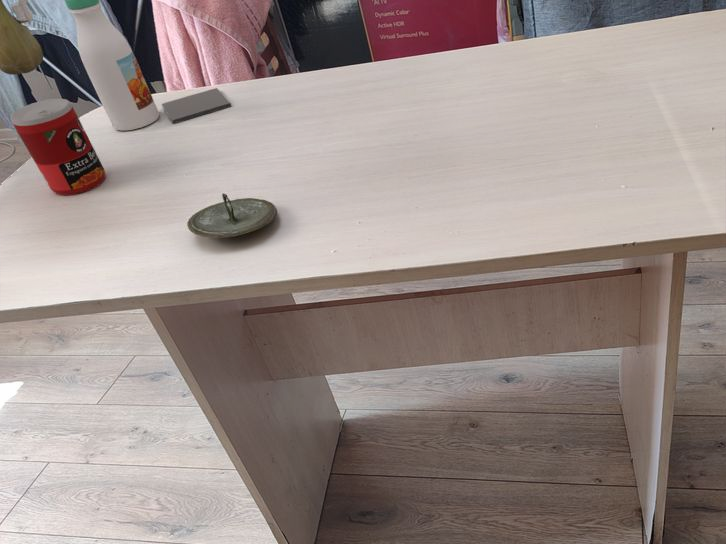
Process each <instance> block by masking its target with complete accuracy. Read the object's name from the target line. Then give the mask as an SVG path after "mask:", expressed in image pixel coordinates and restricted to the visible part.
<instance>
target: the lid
mask: <svg viewBox="0 0 726 544" xmlns="http://www.w3.org/2000/svg"><path fill="white" fill-rule="evenodd" d="M221 196H222V200H223V201H221V202H218V203H215V204H212V205H208V206H206V207H204V208H202V209H200V210H198V211H197V212H195V213H193V214H192V215H191V216H190V217H189V218H188V221H187V222H186V224H187V225H186V226H187V229H188V230H189V231H190V232H191V233H192V234H194V235H196V236H197V237H198V236H199V237H201V238H207V239H208V238H209V239H221V238H222V239H223V238H230V237H232V238H233V237H236V236H237V237H238V236H241V235H245V234H248V233H251V232H255V231H256V230H257V231H258V230H260V229H261V228H263V227H265V226H267V225H269V224H270V223H271V222H273V221H274V220H275V218H277V216H278V215H277V214H278V209H277V208H276V205H275V204H274V203H273V202H271V201H269V200H266V199H260V198H253V197H244V198H236V199H231V200H230V198H229V196H228V194H227V193H222V194H221Z"/></svg>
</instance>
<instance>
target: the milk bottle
mask: <svg viewBox="0 0 726 544" xmlns="http://www.w3.org/2000/svg"><path fill="white" fill-rule="evenodd" d="M64 2H65V4H66V6H67V8H68V10H69V13H70V14H72V15H73V19H74V22H75V26H76V35H77V37H76V38H77V49H78V53H79V57H80V59H81V62H82V64H83V67H84V69H85V71H86V73H87V75H88V77H89V80H90V82H91V84H92V85H93V88H94V90H95V92H96V95H97V97H98V99H99V101H100V103H101V105H102V107H103V109H104V111H105V114H106V115H107V117H108V119H109V121H110V123H111V125H112V127H113V128H114V129H115V130H118V131H132V130H137V129H140V128H144V127H146V126H148V125H151V124H153V123H155V122H156V121H157V120H158V118H159V117H160V112H159V110H158V107H157V105H156V103H155V100H154V98H153V96H152V94H151V91H150V89H149V86H148V85H147V81H146V79H145V77H144V75H143V72H142V70H141V68H140V66H139V63H138V61H137V59H136V57H135V54H134V52H133V50H132V48H131V46H130V44H129V43H128V41H127V40H126V38H125V36H124V35H123V34H122V33H121V31H119V30H118V29H117V28H116V26H115V25H113V23H112V22H111V21H110V20H109V19H108V17H107V16H106V15H105V13H104V11H103V10H102V4H101V2H100V0H64Z"/></svg>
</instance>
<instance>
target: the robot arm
mask: <svg viewBox="0 0 726 544" xmlns="http://www.w3.org/2000/svg"><path fill="white" fill-rule="evenodd" d="M10 8H11V10H12V12H13V14H14V15H16V16H15V18H16V19H17V20H18V22H19V23H20V24H25V23H29V22H34V21H35V20H34V17H33V13H32V12H31V10H30V8H29V6H28V0H18V1H17V2H13V3H10Z"/></svg>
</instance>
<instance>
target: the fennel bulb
mask: <svg viewBox="0 0 726 544" xmlns="http://www.w3.org/2000/svg"><path fill="white" fill-rule="evenodd" d="M43 60H44V53H43V50H42V47H41V44H40V43H39V41H38V40H37V38H36V37H35V36H34V35H33V34H32V33H31V32H30V31H29V29H27V28H26V26H24V24H23V23H21V24H20V23H19V22H18V20H17V17H16V16H14V15H13V14H12V13H11V12H10V11H9V10H8V8H7V7H6V5H5V4H4V2H3V0H0V71H1V72H2V73H4V74H7V75H10V76H11V75H12V76H13V75H14V76H15V75H20V74H28V73H31V72H33V71H35V70H36V69H37V68H38V67H39V66H40V65H41V64H42V63H43Z"/></svg>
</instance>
